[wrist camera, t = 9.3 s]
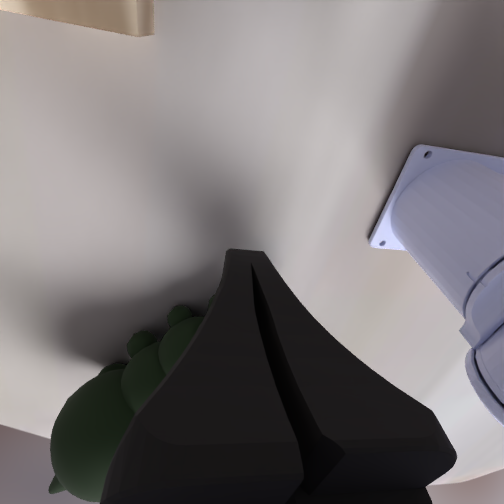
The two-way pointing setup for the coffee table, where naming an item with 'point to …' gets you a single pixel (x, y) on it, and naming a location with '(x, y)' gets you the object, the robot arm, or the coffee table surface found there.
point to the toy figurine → (112, 407)
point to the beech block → (91, 13)
